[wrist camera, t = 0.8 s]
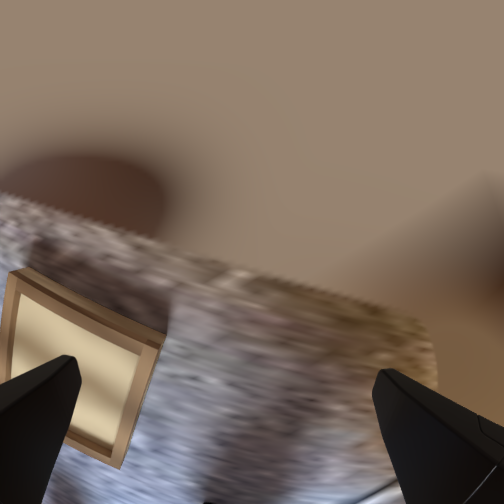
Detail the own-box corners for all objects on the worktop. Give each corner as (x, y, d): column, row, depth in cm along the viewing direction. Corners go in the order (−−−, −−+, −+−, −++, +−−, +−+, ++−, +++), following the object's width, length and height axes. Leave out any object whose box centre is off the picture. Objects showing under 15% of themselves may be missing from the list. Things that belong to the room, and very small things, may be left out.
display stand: (127, 450, 24) (119, 469, 21) (12, 387, 22) (-3, 400, 19) (166, 335, 23) (158, 350, 20) (29, 266, 22) (8, 272, 19)
